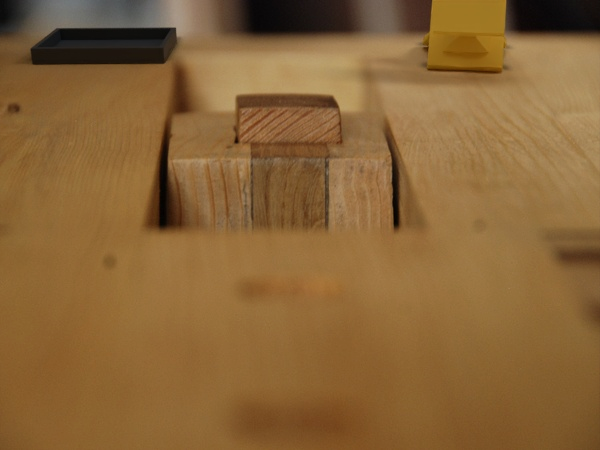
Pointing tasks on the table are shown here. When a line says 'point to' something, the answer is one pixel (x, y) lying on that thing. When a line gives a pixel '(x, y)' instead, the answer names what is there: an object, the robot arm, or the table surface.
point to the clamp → (466, 35)
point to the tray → (105, 46)
